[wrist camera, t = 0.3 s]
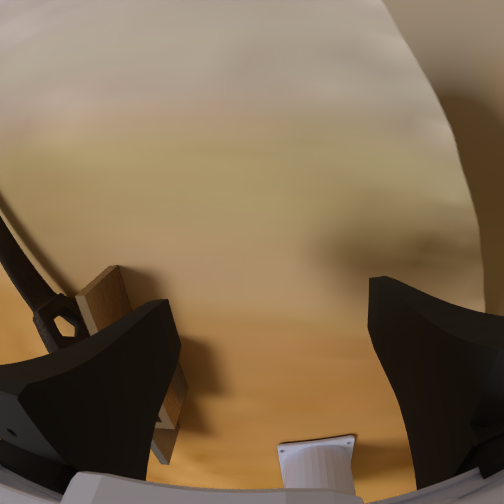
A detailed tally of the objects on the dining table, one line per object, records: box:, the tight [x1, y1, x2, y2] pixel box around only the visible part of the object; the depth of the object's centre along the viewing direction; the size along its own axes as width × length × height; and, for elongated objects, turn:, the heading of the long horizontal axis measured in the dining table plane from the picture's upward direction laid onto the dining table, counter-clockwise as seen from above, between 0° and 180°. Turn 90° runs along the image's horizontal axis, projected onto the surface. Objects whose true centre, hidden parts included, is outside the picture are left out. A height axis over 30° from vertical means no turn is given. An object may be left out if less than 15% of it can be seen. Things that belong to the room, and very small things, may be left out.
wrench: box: [0, 216, 90, 354], centre depth 19 cm, size 5×5×30 cm
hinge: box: [75, 265, 188, 465], centre depth 22 cm, size 18×6×5 cm, turn 8°
